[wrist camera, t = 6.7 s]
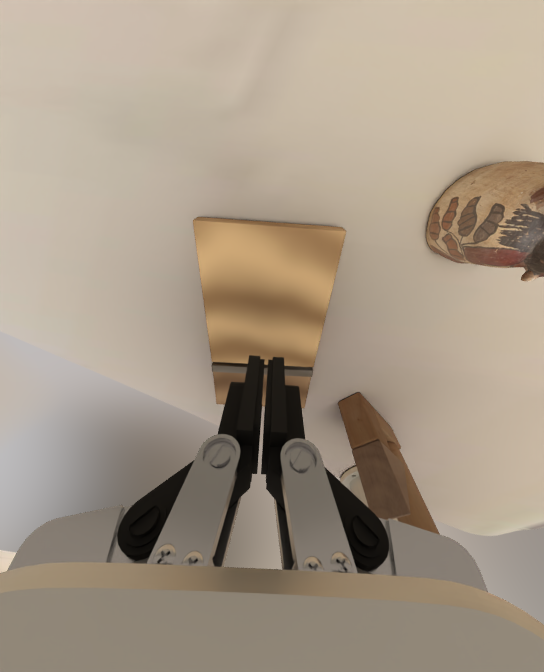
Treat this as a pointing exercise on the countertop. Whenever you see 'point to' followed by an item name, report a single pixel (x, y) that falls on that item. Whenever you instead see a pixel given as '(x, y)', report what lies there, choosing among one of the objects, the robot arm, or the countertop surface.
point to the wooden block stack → (383, 466)
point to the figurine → (493, 218)
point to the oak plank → (266, 287)
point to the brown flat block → (237, 373)
